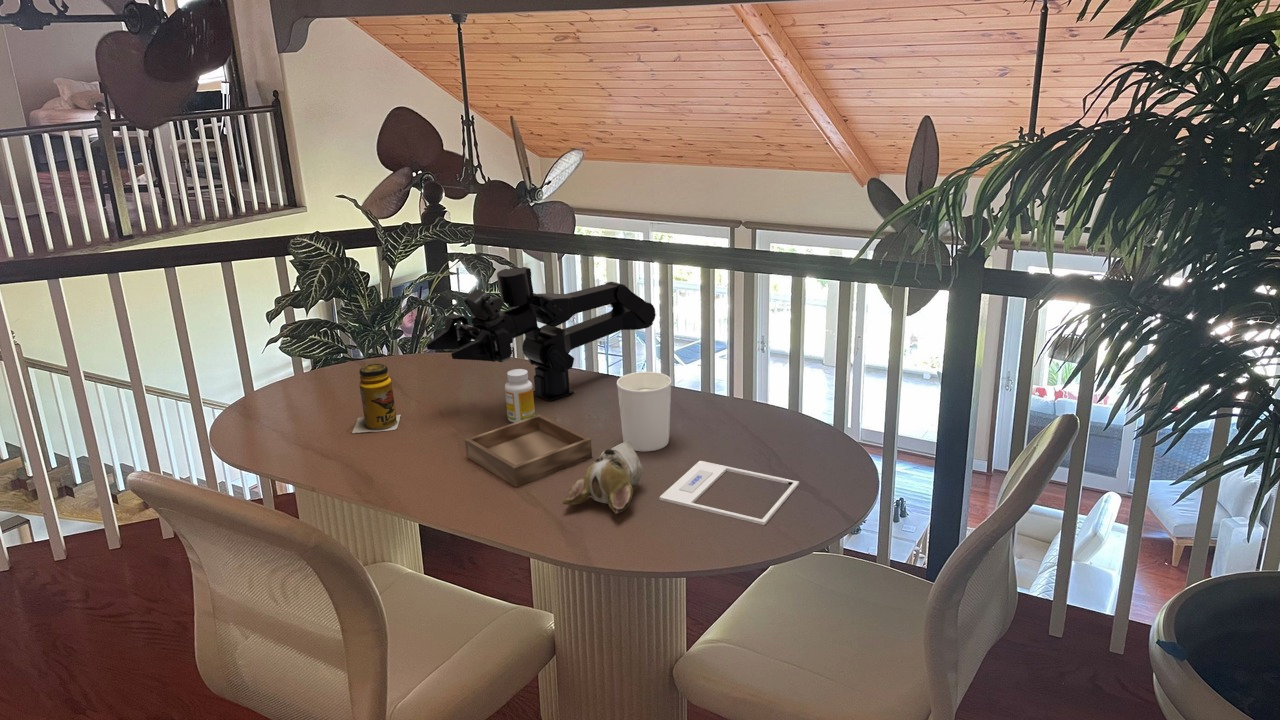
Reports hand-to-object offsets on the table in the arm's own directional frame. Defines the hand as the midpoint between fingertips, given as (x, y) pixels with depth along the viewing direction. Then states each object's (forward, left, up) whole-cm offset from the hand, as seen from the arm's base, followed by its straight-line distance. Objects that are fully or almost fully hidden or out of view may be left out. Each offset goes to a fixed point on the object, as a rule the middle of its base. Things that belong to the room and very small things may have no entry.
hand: (439, 351), depth 167 cm
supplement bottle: (-13, +5, -16) cm, 22 cm away
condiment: (+9, -13, -16) cm, 22 cm away
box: (-4, +21, -16) cm, 27 cm away
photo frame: (-20, +55, -17) cm, 61 cm away
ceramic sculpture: (-5, +43, -16) cm, 47 cm away
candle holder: (-23, +31, -16) cm, 42 cm away
